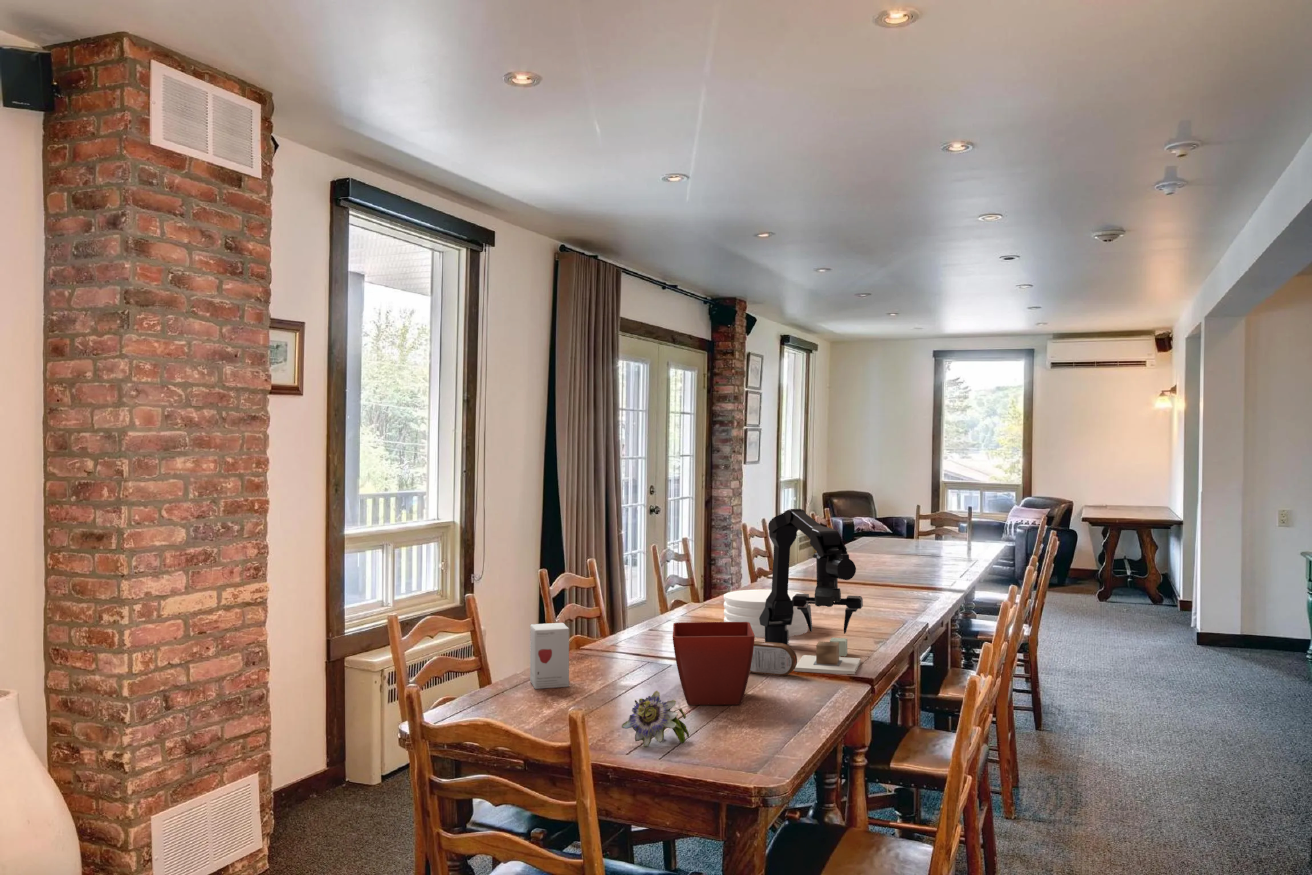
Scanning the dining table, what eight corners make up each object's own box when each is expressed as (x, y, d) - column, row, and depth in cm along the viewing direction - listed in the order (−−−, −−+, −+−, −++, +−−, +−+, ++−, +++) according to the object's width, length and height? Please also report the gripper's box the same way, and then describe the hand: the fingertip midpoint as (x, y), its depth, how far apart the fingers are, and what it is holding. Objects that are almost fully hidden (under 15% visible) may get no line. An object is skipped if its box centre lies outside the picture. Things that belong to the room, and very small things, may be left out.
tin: (797, 675, 245) (797, 643, 245) (794, 678, 242) (793, 645, 242) (743, 670, 251) (743, 639, 251) (740, 672, 248) (739, 641, 248)
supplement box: (534, 689, 232) (533, 629, 233) (529, 681, 241) (529, 623, 241) (570, 686, 235) (569, 627, 235) (564, 678, 243) (563, 621, 244)
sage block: (829, 656, 268) (829, 640, 268) (832, 652, 272) (831, 637, 272) (845, 656, 266) (845, 641, 267) (847, 653, 271) (847, 638, 271)
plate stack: (814, 637, 295) (814, 601, 296) (726, 638, 296) (726, 602, 296) (801, 621, 323) (801, 588, 324) (721, 622, 324) (721, 589, 324)
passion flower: (647, 772, 186) (612, 725, 186) (659, 746, 197) (625, 701, 197) (691, 746, 183) (654, 697, 183) (701, 720, 194) (666, 674, 194)
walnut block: (816, 663, 253) (816, 645, 253) (819, 659, 258) (819, 641, 258) (836, 664, 251) (836, 646, 251) (839, 660, 256) (838, 642, 256)
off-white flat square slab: (794, 671, 249) (794, 666, 249) (803, 658, 264) (803, 654, 264) (854, 674, 244) (854, 670, 244) (860, 661, 260) (860, 657, 260)
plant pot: (674, 688, 232) (673, 621, 232) (750, 688, 231) (749, 620, 232) (673, 709, 213) (672, 636, 213) (756, 709, 212) (755, 635, 213)
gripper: (788, 578, 250) (789, 636, 250) (858, 580, 244) (859, 639, 244) (795, 573, 261) (795, 628, 260) (862, 575, 255) (863, 632, 254)
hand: (827, 632), depth 254 cm, fingers open, 9 cm apart
